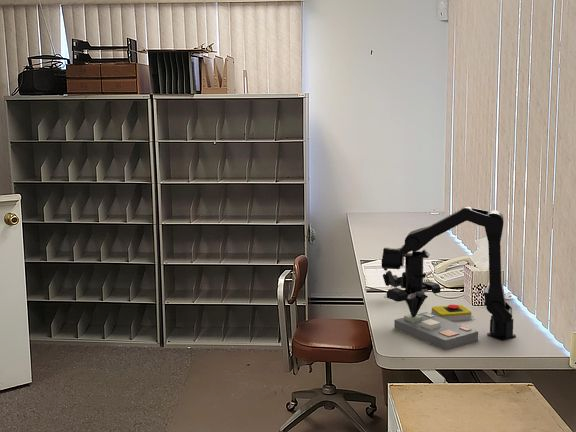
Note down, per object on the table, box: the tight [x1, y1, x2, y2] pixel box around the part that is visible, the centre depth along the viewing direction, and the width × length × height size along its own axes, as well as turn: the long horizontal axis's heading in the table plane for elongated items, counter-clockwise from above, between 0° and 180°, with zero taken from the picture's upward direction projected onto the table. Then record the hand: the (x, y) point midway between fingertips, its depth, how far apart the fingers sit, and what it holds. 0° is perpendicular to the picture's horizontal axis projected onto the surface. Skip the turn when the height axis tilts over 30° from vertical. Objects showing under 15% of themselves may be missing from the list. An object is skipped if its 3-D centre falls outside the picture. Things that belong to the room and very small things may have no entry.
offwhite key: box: [421, 319, 440, 330], centre depth 211 cm, size 4×4×2 cm
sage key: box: [403, 313, 423, 323], centre depth 218 cm, size 4×4×2 cm
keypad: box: [393, 311, 479, 351], centre depth 212 cm, size 23×14×3 cm, turn 32°
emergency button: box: [430, 304, 476, 323], centre depth 229 cm, size 9×4×15 cm
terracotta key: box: [439, 330, 459, 337], centre depth 205 cm, size 4×4×2 cm
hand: (413, 316), depth 218 cm, fingers closed, pressing on sage key
